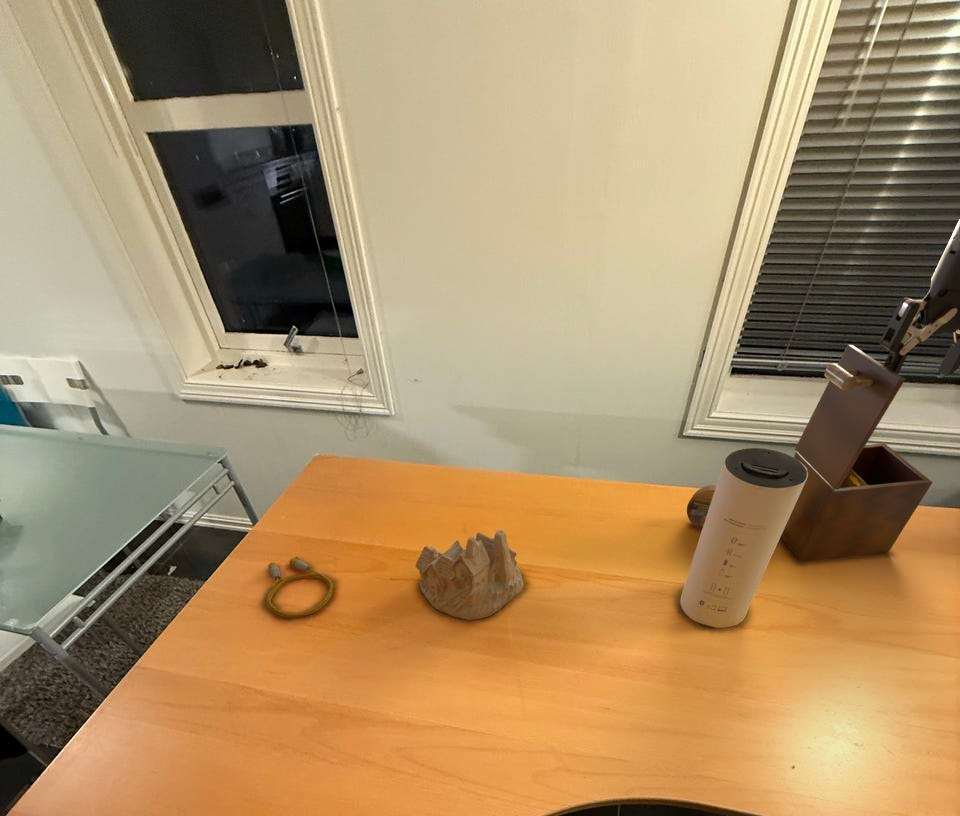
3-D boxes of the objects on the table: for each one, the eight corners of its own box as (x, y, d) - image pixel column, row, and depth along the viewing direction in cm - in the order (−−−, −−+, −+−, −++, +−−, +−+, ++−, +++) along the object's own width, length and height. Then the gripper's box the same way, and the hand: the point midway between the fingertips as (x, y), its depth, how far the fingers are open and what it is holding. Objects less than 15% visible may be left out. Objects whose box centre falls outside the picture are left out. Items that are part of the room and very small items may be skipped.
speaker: (756, 603, 90) (821, 457, 70) (731, 640, 84) (794, 494, 65) (695, 578, 95) (741, 436, 75) (668, 612, 89) (709, 468, 70)
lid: (852, 344, 81) (819, 344, 81) (905, 379, 73) (868, 378, 72) (798, 449, 94) (769, 449, 93) (838, 489, 85) (806, 489, 84)
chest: (847, 513, 105) (884, 443, 94) (887, 554, 96) (933, 482, 86) (767, 521, 104) (795, 451, 94) (800, 563, 96) (835, 491, 85)
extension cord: (335, 558, 104) (333, 549, 102) (332, 614, 93) (329, 606, 92) (271, 566, 103) (267, 558, 101) (260, 624, 92) (256, 616, 91)
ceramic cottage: (536, 586, 95) (531, 513, 84) (463, 635, 89) (448, 562, 78) (480, 550, 104) (469, 480, 93) (411, 592, 98) (391, 522, 87)
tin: (682, 525, 105) (692, 486, 99) (686, 516, 107) (696, 478, 101) (764, 544, 100) (781, 505, 94) (767, 535, 102) (783, 495, 95)
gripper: (1017, 230, 70) (945, 362, 82) (910, 240, 70) (853, 371, 82) (1065, 244, 65) (981, 382, 77) (950, 254, 65) (883, 392, 77)
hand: (915, 376), depth 79 cm, fingers open, 8 cm apart
